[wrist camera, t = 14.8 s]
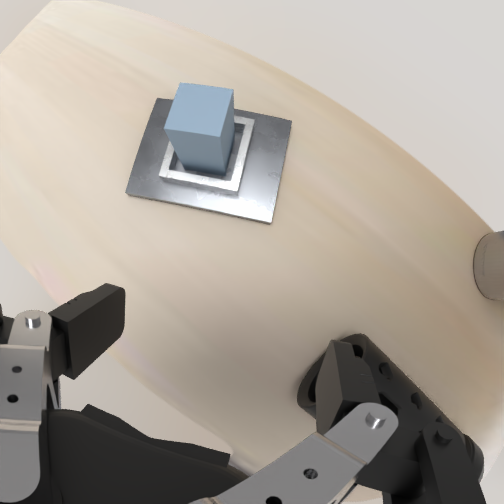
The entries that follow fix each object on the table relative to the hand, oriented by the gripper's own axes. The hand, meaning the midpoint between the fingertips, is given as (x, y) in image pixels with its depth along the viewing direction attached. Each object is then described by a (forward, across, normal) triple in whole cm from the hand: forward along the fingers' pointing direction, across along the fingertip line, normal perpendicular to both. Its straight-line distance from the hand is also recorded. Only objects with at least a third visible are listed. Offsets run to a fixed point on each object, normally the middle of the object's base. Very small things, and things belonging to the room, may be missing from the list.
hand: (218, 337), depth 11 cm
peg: (+23, +8, -7) cm, 26 cm away
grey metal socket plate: (+24, +8, -7) cm, 27 cm away
